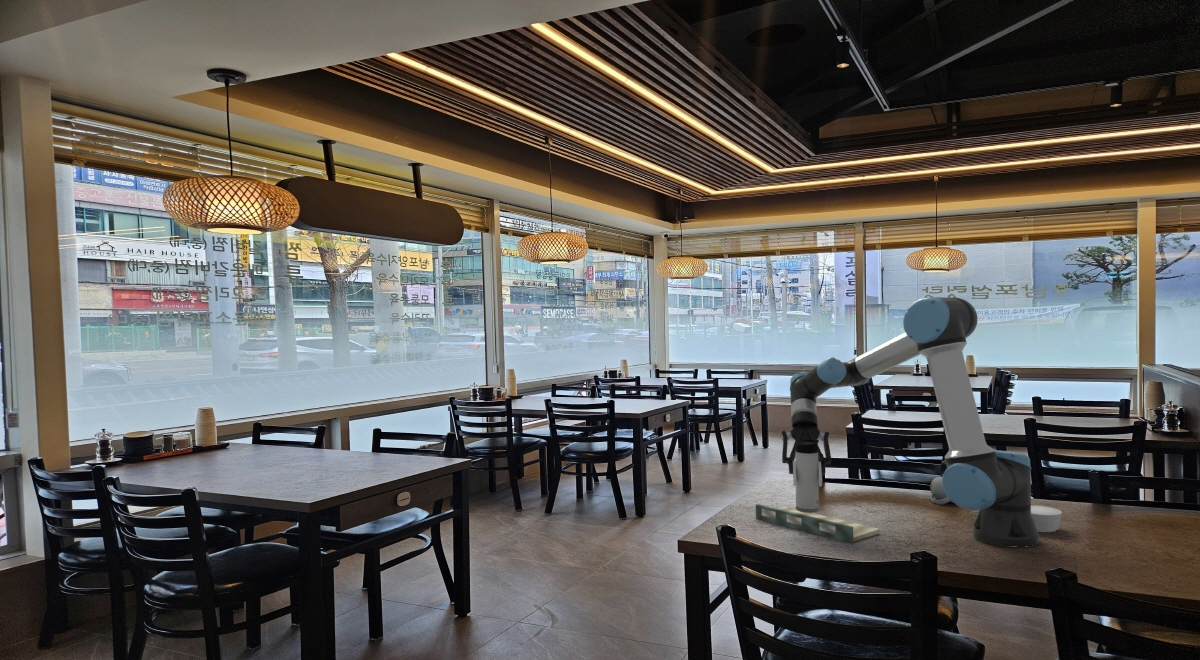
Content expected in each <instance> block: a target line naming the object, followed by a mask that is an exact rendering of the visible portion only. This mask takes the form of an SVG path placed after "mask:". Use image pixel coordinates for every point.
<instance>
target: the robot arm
mask: <svg viewBox="0 0 1200 660" xmlns="http://www.w3.org/2000/svg"><path fill="white" fill-rule="evenodd" d="M978 319H979V317H978V312H977V310H976V309H975V306H973V304H971V303H970V302H969V301H968V300H966V299H963V298H960V297H954V296H953V297H945V296H944V297H942V296H941V297H940V296H930V297H922V298H919V299H917V300H915V301H913V302H912V303H911V304H910V305H909V306H908V308H907V310H906V311H905V312H904V315H903V319H902V324H903V329H904V332H903V333H900V334H899V335H896V336H894V337H893V338H891V339H888V340H887V341H885V342H884V343H882V344H879V345H877V346H876V347H874V348H871V349H870V350H868V351H866V352H864V353H862V354H860V355H857V356H856V357H854V358H852V359H850V360H848V361H844V362H843V361H841V360H840V359H838V358H836V357H835V356H834V357H833V356H832V357H827V358H826V359H825V360H822V361H820V363H818V365H816V366H815V367H814V368H813V369H812V370H809V372H807V371H801V372H797V373H794V374H793V375H792V376H791V378H790V380H789V381H790V383H789V384H790V386H789V392H790V394H789V395H790V412H791V413H790V414H791V415H790V416H791V419H790V420H791V429H790V431H786V430H783V431H782V432H781V439H782V459H781V463H782V464H787V465H788V473H789V475H792V479H793V481H792V483H793V485H792V486H794V487H796V461H795V454H796V453H795V451H796V442H798V441H801V440H813V439H817V440H819V438H820V440H821V441H822V444H823V445H822V446H823V450H824V455H825V457H824V455H823V453H822V450H821V449H820V446H819V445H818V484H819V488H820V487H823V486H822V485H823V476H825V475H826V470H827V469H826V465H831V464H832V455H831V448H830V443H829V442H830V441H829V439H830V433H829V432H828V431H825V432H822V431H821V430H820V429H819V427H818V426H819V425H818V423H819V422H818V411H817V408H818V407H817V398H818V397H820V396H821V395H822V394H824V393H825V392H827V391H828V390H830V389H833V388H834V389H835V388H843V387H846V388H847V387H859V386H861V385H865V384H867V383H868V382H869V380H870V379H871V378H874V377H876V376H877V375H880V374H882V373H884V372H886V371H888V370H891V369H892V368H895V367H897V366H899V365H901V364H903V363H905V362H907V361H909V360H911V359H913V358H916V357H918V356H922V357H925V358H926V360H927V361H926V362H927V365H928V369H929V370H928V371H929V374H930V378H931V382H932V386H933V389H934V393H935V397H936V402H937V404H938V405H937V406H938V409H939V413H940V417H941V421H942V425H943V430H944V433H945V437H946V441H947V445H948V451H947V453H946V454H945V455H944V460H945V464H946V469H945V471H944V473H943V474H942V476H941V477H942V485H943V489H944V491H945V493H946V495H947V496H948V498H949V499H950V500H951V501H952V502H951V503H954V504H955V505H956V506H958V507H959V508H962V509H963V510H964V509H965V510H968V511H970V510H971V511H976V510H978V512H977V515H976V519H975V520H974V522H973V523H974V524H973V526H972V536H974V537H973V538H974V539H976V540H977V539H978V540H977V541H979V540H980V542H982V541H983V543H985V542H986V543H985V544H988V543H989V545H993V544H994V546H998V545H1002V546H1001V547H1005V546H1017V547H1016V548H1018V547H1022V548H1026V547H1025V546H1032V545H1036V544H1038V543H1039V544H1040V533H1038V530H1037V527H1036V524H1035V522H1034V519H1033V516H1032V514H1031V505H1032V499H1031V498H1032V487H1031V485H1032V478H1031V477H1032V474H1031V473H1032V467H1031V466H1032V465H1031V458H1030V457H1029V456H1028V454H1025V453H1021V452H1017V451H1016V452H1014V451H1008V450H997V449H994V448H993V447H991V446H989V445H988V444H987V441H986V437H985V435H984V430H983V426H982V423H981V417H980V416H979V411H978V406H977V404H976V399H975V396H974V392H973V389H972V384H971V381H970V380H971V379H970V377H969V372H968V369H967V365H966V361H965V356H964V354H963V350H964V349H965V347H966V345H967V338H968V337H970V336H971V335H972V334H973V333H974V331H975V330H976V329H977V325H978ZM790 437H791V438H792V439H793V440H794V443H793V446H792V448H791V451H790V454H789V457H788V446H789V445H788V444H789V443H788V441H789V440H790V439H791V438H790ZM1039 544H1038V545H1039ZM1036 546H1037V545H1036Z"/></svg>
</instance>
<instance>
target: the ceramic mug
mask: <svg viewBox="0 0 1200 660" xmlns="http://www.w3.org/2000/svg"><path fill="white" fill-rule="evenodd" d="M942 477H943V476H937V477H934V478H933V479H932V480H931V483H930V493H931V494H930V500H931V503H933V504H935V503H936V505H944V504H945V505H946V504H947V503H953V502H952V501H951V500H950V499H949V498H948V496H947V495H946V493H945V491H944V489H943V485H942Z"/></svg>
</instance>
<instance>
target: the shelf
mask: <svg viewBox="0 0 1200 660" xmlns="http://www.w3.org/2000/svg"><path fill="white" fill-rule="evenodd" d="M755 518H756V519H758V520H762V521H766V522H769V523H773V524H777V525H781V526H784V527H790V528H792V529H797V530H801V531H804V532H809V533H811V534H816V535H818V536H819V535H820V536H823V537H826V538H831V539H834V540H838V541H843V542H847V543H854V542H858V541H861V540H863V539H867V538H870V537H873V536H876V535H878V534H880V533H881V532H880V530H881V529H880V528H877V527H873V526H868V525H864V524H860V523H856V522H851V521H847V520H843V519H838V518H835V517H832V516H831V517H830V516H826V515H821V514H819V513H818V514H817V513H815V512H814V513H805V512H800V511H798V510H796V508H792V507H787V506H781V507H778V508H777V507H773V506H768V505H764V504H759V503H758V504H757V503H756V504H755Z"/></svg>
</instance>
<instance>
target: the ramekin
mask: <svg viewBox="0 0 1200 660" xmlns="http://www.w3.org/2000/svg"><path fill="white" fill-rule="evenodd" d="M1031 514H1032V516H1033V519H1034V522H1035V524H1036V527H1037V530H1038V531H1046V532H1047V531H1056V530H1058V529H1059V530H1060V525H1061V521H1062V517H1063V512H1062V511H1061V510H1060V509H1057V508H1055V507H1050V506H1045V505H1032V504H1031ZM1059 530H1058V531H1059Z"/></svg>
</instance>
